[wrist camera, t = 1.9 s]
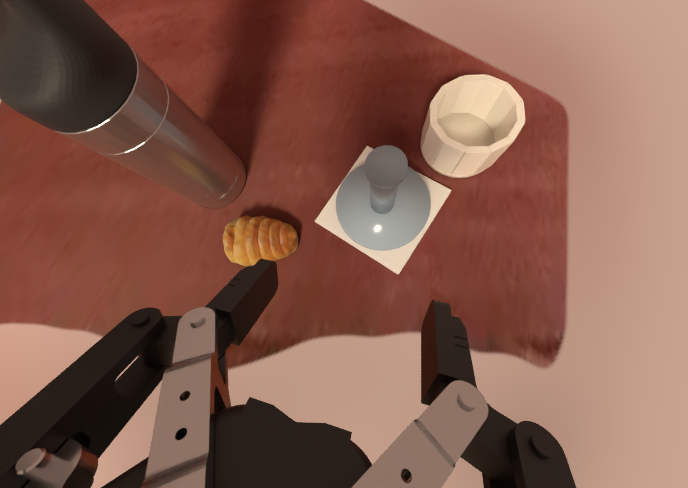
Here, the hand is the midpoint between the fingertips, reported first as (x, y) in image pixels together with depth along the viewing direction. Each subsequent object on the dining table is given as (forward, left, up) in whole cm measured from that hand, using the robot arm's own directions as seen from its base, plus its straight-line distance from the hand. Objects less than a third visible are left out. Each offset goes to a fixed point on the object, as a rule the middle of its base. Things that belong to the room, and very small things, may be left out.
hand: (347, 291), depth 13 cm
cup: (0, +24, -19) cm, 31 cm away
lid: (-4, +11, -19) cm, 22 cm away
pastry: (-15, -2, -20) cm, 25 cm away
